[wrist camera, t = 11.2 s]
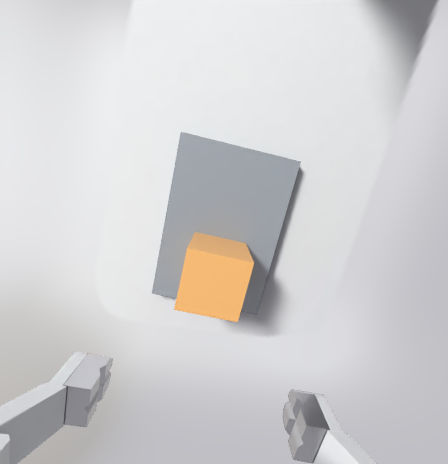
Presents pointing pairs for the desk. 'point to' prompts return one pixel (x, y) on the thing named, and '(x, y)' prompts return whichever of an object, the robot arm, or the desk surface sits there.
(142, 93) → the desk surface
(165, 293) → the plate
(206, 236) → the amber rectangular brick
